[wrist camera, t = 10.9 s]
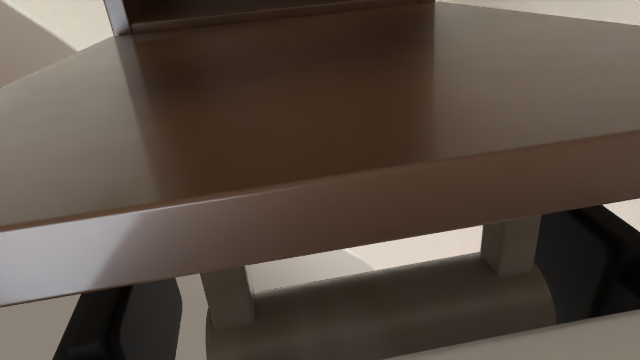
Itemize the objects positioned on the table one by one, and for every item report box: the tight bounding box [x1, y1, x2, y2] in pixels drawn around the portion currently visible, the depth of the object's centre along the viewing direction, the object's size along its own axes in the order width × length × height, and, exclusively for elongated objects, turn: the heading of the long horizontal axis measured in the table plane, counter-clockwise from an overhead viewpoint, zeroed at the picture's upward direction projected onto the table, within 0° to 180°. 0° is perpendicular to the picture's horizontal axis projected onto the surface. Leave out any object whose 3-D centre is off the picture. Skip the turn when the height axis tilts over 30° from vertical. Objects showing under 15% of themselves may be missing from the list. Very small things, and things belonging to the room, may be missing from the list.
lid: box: [0, 2, 640, 360], centre depth 13 cm, size 16×15×5 cm
